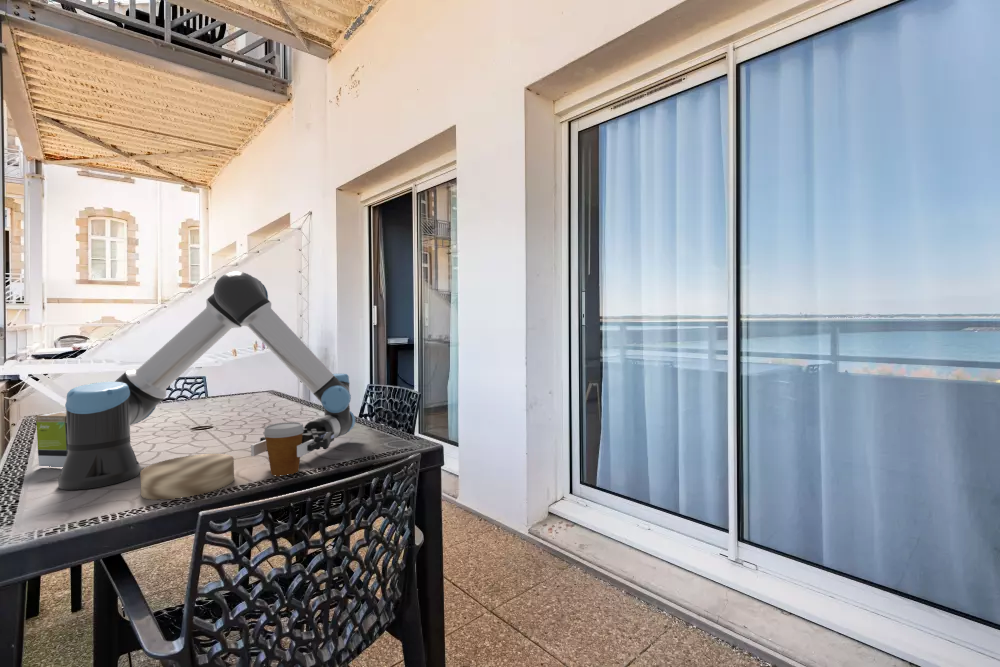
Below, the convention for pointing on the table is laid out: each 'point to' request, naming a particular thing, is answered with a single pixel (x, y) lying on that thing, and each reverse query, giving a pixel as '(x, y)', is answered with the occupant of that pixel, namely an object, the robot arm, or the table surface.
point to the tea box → (52, 439)
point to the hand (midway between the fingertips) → (275, 451)
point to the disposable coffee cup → (283, 446)
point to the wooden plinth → (187, 476)
